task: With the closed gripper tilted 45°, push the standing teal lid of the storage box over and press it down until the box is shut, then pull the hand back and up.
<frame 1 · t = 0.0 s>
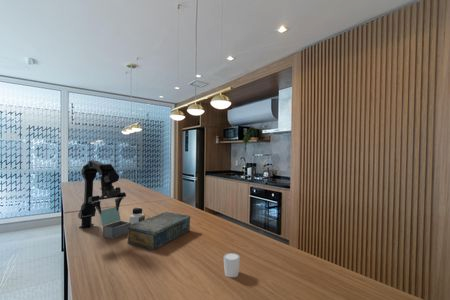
hand: (109, 212, 123), 15 cm above the table, tool pointing down, fingers open, 9 cm apart
shot glass: (231, 274, 89), on the table
lid: (110, 215, 134), point 10 cm above the table, hinge at 108.0°
metal box: (161, 237, 128), on the table
storage box: (117, 234, 131), on the table
medicine bottle: (137, 226, 147), on the table
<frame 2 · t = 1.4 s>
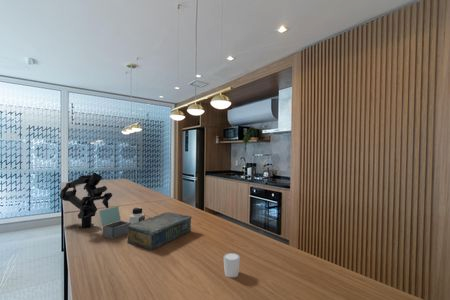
hand: (102, 209, 138), 13 cm above the table, tool tilted 45°, fingers open, 7 cm apart
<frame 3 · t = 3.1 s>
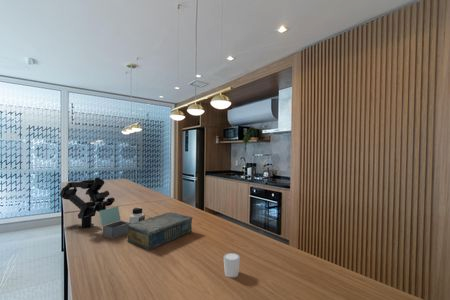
hand: (105, 214, 136), 11 cm above the table, tool tilted 45°, fingers closed
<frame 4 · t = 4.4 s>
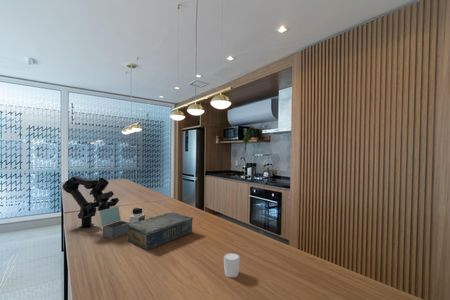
hand: (109, 215, 135), 11 cm above the table, tool tilted 45°, fingers closed, pressing on lid
lid: (110, 215, 134), point 10 cm above the table, hinge at 106.7°, touching gripper
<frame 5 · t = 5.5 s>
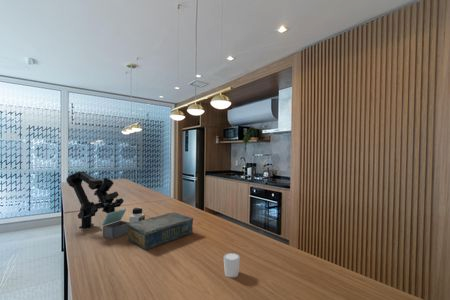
hand: (114, 216, 133), 11 cm above the table, tool tilted 45°, fingers closed, pressing on lid
lid: (114, 216, 132), point 10 cm above the table, hinge at 55.9°, touching gripper
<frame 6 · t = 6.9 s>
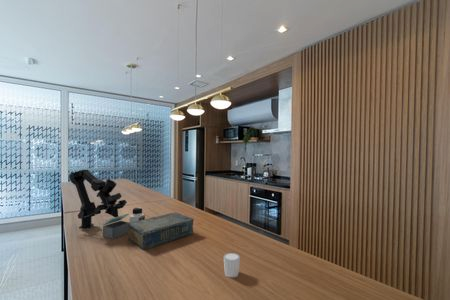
hand: (117, 217, 131), 10 cm above the table, tool tilted 45°, fingers closed, pressing on lid
lid: (116, 219, 132), point 9 cm above the table, hinge at 30.3°, touching gripper
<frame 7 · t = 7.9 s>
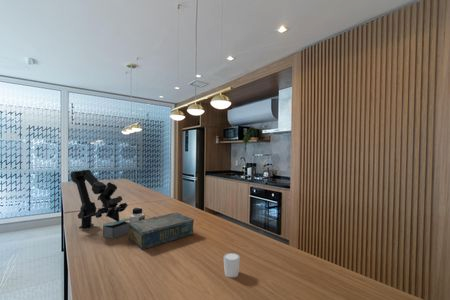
hand: (118, 220, 131), 8 cm above the table, tool tilted 45°, fingers closed, pressing on lid
lid: (116, 221, 131), point 7 cm above the table, hinge at 9.8°, touching gripper
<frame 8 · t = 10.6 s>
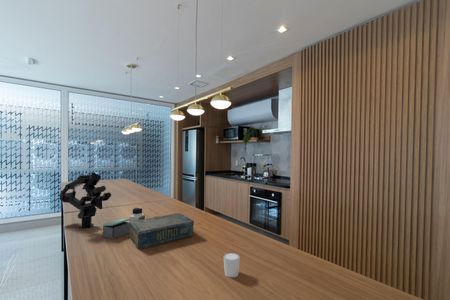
hand: (101, 208, 138), 14 cm above the table, tool tilted 45°, fingers closed
lid: (116, 221, 131), point 7 cm above the table, hinge at 9.7°
at the end: lid at +10° (first picture: +108°); medicine bottle moved 0.2 cm from its start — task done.
